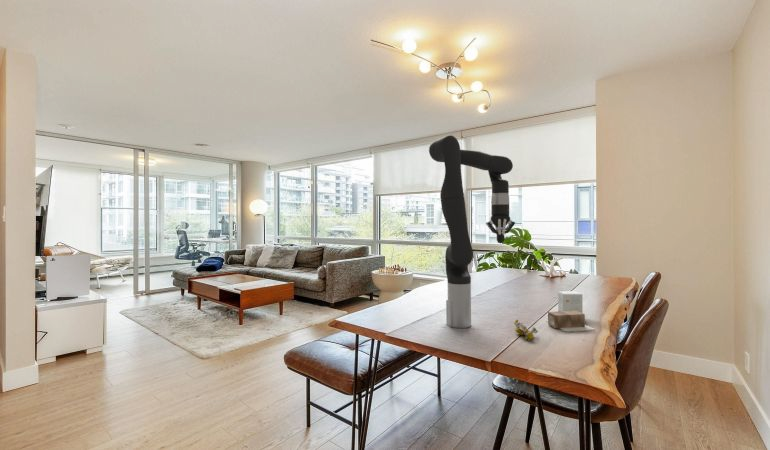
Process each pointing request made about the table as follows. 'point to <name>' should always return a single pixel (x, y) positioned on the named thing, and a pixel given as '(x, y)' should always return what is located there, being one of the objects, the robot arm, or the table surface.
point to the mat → (577, 328)
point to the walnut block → (566, 319)
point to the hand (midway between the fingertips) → (500, 243)
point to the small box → (570, 301)
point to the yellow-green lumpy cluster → (524, 330)
